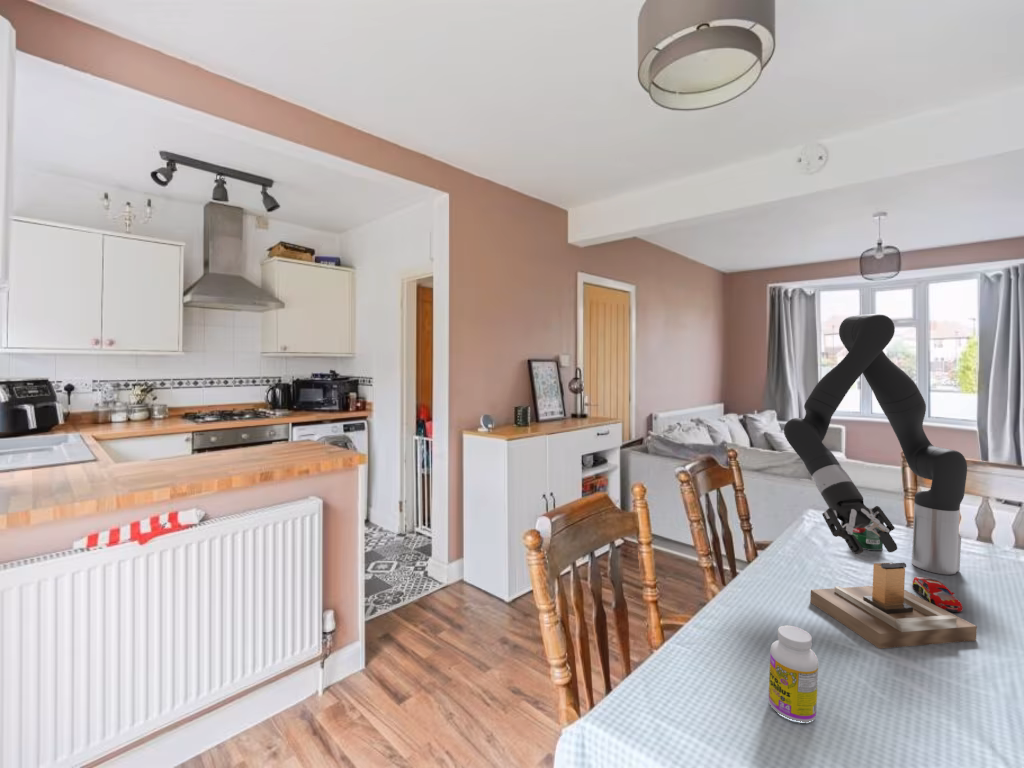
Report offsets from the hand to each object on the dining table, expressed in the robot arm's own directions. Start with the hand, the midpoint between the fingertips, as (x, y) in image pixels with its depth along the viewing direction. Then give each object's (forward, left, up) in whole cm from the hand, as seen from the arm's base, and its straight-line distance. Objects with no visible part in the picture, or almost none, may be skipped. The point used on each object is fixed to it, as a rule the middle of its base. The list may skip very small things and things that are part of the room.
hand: (876, 551), depth 106 cm
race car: (-20, -3, -14) cm, 25 cm away
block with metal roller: (0, +3, -11) cm, 11 cm away
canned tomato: (-32, -35, -14) cm, 49 cm away
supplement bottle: (+40, +25, -14) cm, 50 cm away
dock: (0, +3, -14) cm, 14 cm away
